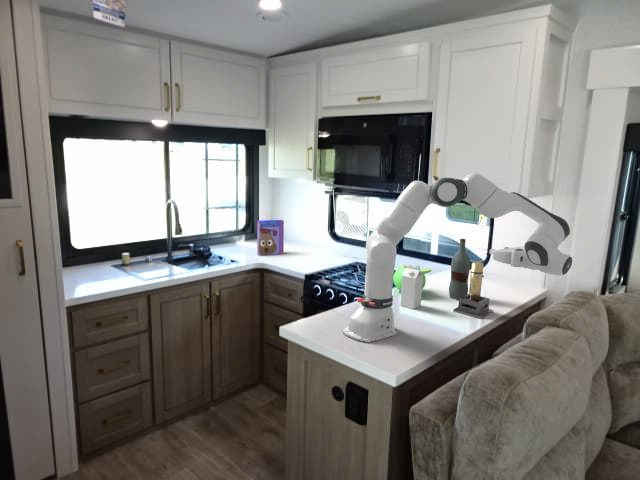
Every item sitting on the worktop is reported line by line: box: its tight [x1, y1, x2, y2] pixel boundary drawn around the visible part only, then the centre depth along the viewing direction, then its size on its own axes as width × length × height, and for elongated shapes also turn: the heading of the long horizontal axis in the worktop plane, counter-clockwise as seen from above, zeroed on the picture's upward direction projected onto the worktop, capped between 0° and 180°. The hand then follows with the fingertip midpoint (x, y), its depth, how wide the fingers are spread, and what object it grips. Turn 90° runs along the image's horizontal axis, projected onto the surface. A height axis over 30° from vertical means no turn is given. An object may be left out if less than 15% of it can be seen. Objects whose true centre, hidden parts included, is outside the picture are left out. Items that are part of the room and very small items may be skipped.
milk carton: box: [399, 265, 423, 310], centre depth 206 cm, size 7×7×19 cm
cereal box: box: [256, 219, 285, 257], centre depth 303 cm, size 17×5×24 cm, turn 113°
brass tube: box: [468, 261, 485, 309], centre depth 199 cm, size 5×5×22 cm
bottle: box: [448, 238, 471, 301], centre depth 219 cm, size 9×9×30 cm
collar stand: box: [453, 293, 494, 320], centre depth 201 cm, size 13×13×6 cm
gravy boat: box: [393, 264, 433, 292], centre depth 227 cm, size 18×17×15 cm
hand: (497, 250), depth 183 cm, fingers open, 8 cm apart
